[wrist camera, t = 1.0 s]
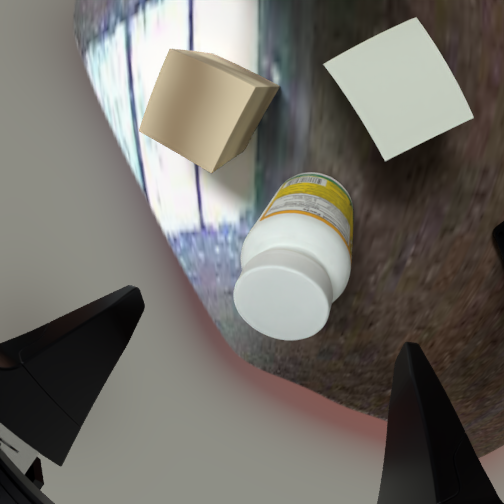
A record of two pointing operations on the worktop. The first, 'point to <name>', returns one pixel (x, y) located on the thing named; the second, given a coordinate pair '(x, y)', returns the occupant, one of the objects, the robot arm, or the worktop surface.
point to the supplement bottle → (296, 258)
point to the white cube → (400, 88)
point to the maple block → (205, 107)
